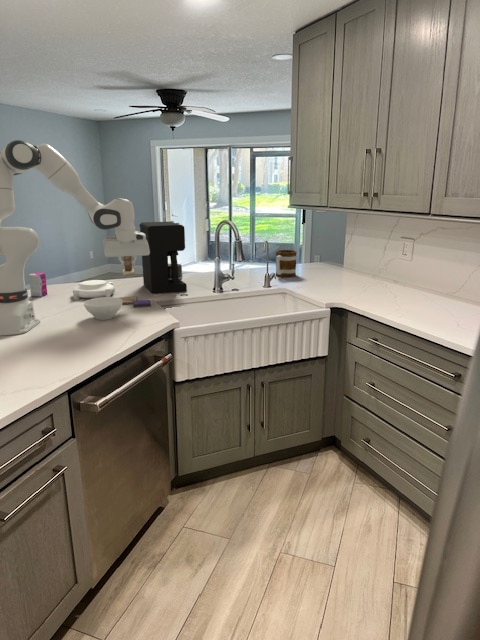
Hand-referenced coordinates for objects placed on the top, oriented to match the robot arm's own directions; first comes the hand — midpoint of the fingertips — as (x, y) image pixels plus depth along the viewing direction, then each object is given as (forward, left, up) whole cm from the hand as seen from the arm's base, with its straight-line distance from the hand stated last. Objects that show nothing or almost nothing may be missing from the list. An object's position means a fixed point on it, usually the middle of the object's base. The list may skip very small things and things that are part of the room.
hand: (128, 265), depth 210 cm
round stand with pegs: (+25, +19, -19) cm, 37 cm away
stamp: (0, 0, -4) cm, 4 cm away
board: (+8, +3, -19) cm, 21 cm away
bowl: (-18, +11, -19) cm, 29 cm away
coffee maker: (+32, -18, -19) cm, 41 cm away
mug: (+51, -91, -19) cm, 106 cm away
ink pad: (0, -5, -19) cm, 20 cm away
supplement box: (+30, +46, -19) cm, 58 cm away
